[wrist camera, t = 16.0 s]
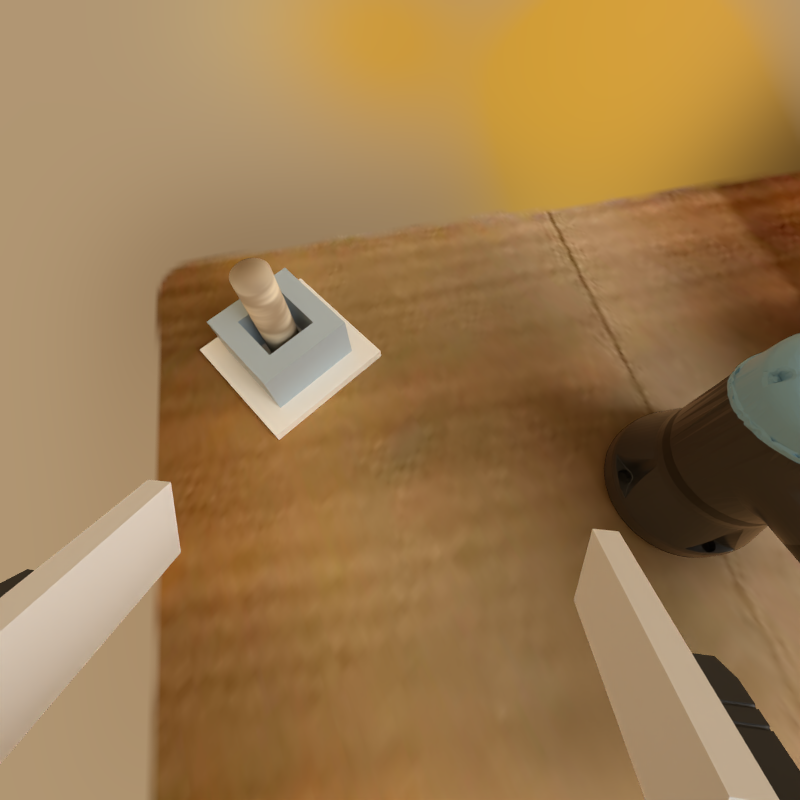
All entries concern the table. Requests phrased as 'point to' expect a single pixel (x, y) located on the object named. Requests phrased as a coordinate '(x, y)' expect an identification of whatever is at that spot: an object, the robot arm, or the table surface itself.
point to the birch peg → (263, 301)
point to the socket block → (289, 357)
